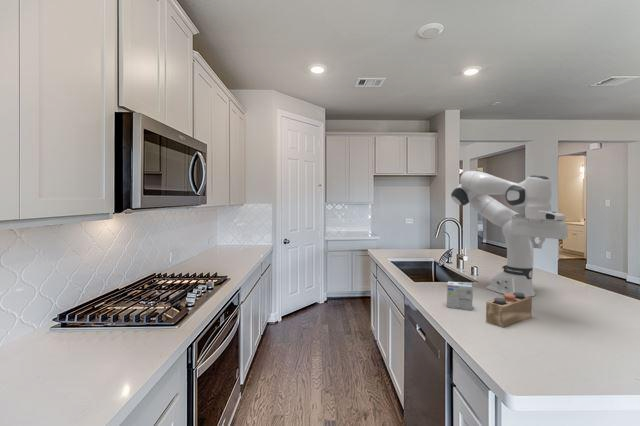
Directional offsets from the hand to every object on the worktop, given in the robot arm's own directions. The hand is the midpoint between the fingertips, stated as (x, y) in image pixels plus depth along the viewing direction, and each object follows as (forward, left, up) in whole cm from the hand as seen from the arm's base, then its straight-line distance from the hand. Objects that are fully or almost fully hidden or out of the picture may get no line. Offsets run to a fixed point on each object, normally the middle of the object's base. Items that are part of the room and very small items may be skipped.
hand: (536, 248), depth 133 cm
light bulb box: (-25, -15, -29) cm, 41 cm away
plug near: (-5, -18, -28) cm, 33 cm away
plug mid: (-5, -11, -27) cm, 30 cm away
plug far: (-5, -4, -28) cm, 28 cm away
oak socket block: (-5, -11, -29) cm, 32 cm away
